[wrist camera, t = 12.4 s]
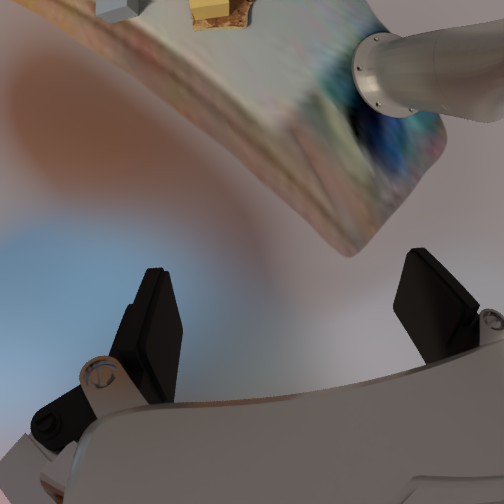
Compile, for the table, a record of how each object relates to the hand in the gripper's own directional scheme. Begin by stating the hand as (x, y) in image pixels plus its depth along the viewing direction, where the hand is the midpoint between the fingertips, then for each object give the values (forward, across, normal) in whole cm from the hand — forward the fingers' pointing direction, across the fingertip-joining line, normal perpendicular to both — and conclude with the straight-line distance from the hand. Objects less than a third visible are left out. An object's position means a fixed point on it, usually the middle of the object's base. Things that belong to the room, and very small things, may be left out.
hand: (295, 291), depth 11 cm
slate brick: (+28, +15, -24) cm, 40 cm away
